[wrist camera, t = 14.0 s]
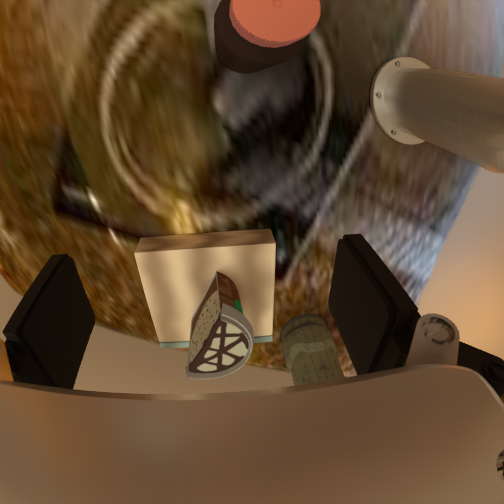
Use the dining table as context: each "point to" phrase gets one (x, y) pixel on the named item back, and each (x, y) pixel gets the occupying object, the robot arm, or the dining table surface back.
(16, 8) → the dining table surface
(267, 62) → the bottle
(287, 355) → the thermos
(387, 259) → the dining table surface
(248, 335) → the food container
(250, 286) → the dock
